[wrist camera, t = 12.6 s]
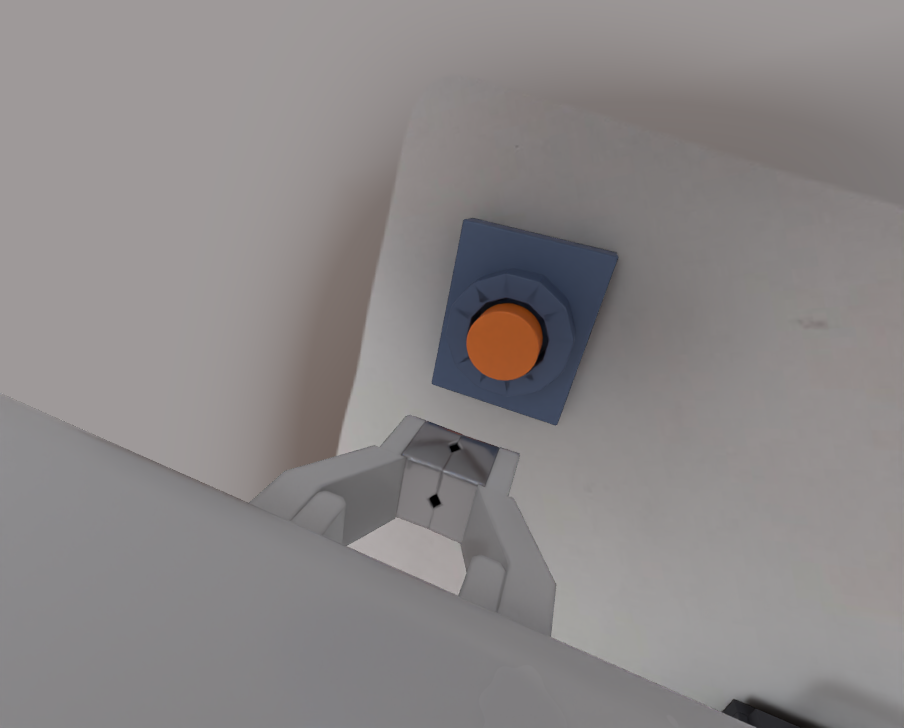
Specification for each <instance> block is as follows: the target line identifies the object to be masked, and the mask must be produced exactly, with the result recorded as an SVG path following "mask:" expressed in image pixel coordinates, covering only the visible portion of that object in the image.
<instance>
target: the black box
mask: <svg viewBox="0 0 904 728" xmlns="http://www.w3.org/2000/svg"><path fill="white" fill-rule="evenodd" d="M754 710H755V708H753V707H750V706H748V705H746V704H743V703H741V702H739V701H736V700H733V701H732V702H731V704H730V705H729V706H728V707H727V708H726V709H725V710H724V711H723V712H722V713H724V714H727V715H729V716H731V717H733V718H736V719H738V720H740V721H742V722H745V723H747V724H749V720H748V716H749V715H750V714H751V713H752V712H753V711H754ZM749 725H750V724H749Z"/></svg>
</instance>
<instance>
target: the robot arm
mask: <svg viewBox="0 0 904 728" xmlns="http://www.w3.org/2000/svg"><path fill="white" fill-rule="evenodd" d="M519 457H520V454H519V453H517V452H514V451H510V450H507V449H504V448H501V447H500V448H499V447H497V446H494V445H491V444H488V443H485V442H482V441H479V440H476V439H473V438H470V437H468V436H465V435H463V434H460V433H458V432H455V431H453V430H450V429H447V428H445V427H442V426H439V425H437V424H434V423H432V422H429V421H426V420H423V419H421V418H418V417H415V416H412V415H407V416H405V418H404V419H403V420H402V421H401V422H400V424H399V425H398V426H397V427H396V428H395V429H394V431H393V432H392V433H391V434H390V435H389V437H388V438H387V439H386V440H385V441H384V442H383V444H382V445H381V446H380V447H378V446H375V445H374V446H370V447H367V448H363V449H360V450H356V451H353V452H349V453H346V454H342V455H339V456H335V457H332V458H328V459H325V460H321V461H318V462H315V463H311V464H307V465H304V466H300V467H297V468H293V469H290V470H286V471H284V472H283V473H282V474H281V475H280V476H278V477H277V478H276V479H275V480H274V481H273V482H272V483H271V484H269V485H268V486H267V487H266V488H265V489H264V490H263V491H262V492H260V493H259V494H258V495H257V496H256V497H255V498H254V499H253V500H252V501H250V502H249V503H247V502H245V501H243V500H241V499H238V498H236V497H234V496H232V495H229V494H227V493H225V492H223V491H220V490H218V489H215V488H214V487H211V486H209V485H207V484H205V483H202V482H200V481H198V480H196V479H193V478H191V477H189V476H186V475H184V474H182V473H180V472H177V471H175V470H173V469H171V468H168V467H166V466H164V465H161V464H159V463H157V462H155V461H153V460H150V459H148V458H146V457H143V456H141V455H139V454H136V453H134V452H132V451H130V450H128V449H125V448H123V447H121V446H119V445H117V444H114V443H112V442H110V441H107V440H105V439H103V438H101V437H98V436H96V435H94V434H92V433H89V432H87V431H85V430H83V429H80V428H78V427H76V426H74V425H71V424H69V423H67V422H65V421H62V420H60V419H58V418H56V417H53V416H51V415H49V414H47V413H44V412H42V411H40V410H37V409H35V408H33V407H31V406H28V405H26V404H24V403H22V402H20V401H17V400H15V399H13V398H11V397H8V396H6V395H4V394H1V393H0V728H756V727H754V726H751V725H749V724H747V723H745V722H742V721H740V720H738V719H736V718H733V717H731V716H729V715H727V714H724V713H722V712H720V711H718V710H715V709H713V708H711V707H709V706H706V705H704V704H702V703H699V702H697V701H695V700H693V699H690V698H688V697H686V696H684V695H681V694H679V693H677V692H675V691H672V690H670V689H668V688H666V687H663V686H661V685H659V684H657V683H654V682H652V681H650V680H648V679H645V678H643V677H641V676H638V675H636V674H634V673H632V672H629V671H627V670H625V669H623V668H620V667H618V666H616V665H613V664H611V663H609V662H607V661H604V660H602V659H600V658H598V657H595V656H593V655H591V654H588V653H586V652H584V651H582V650H579V649H577V648H575V647H572V646H570V645H568V644H566V643H563V642H561V641H559V640H557V639H554V638H552V637H551V631H552V621H553V612H554V602H555V593H556V583H555V581H554V579H553V577H552V575H551V573H550V571H549V569H548V567H547V565H546V563H545V561H544V559H543V557H542V555H541V552H540V550H539V548H538V546H537V544H536V542H535V540H534V538H533V536H532V534H531V532H530V530H529V528H528V526H527V524H526V522H525V520H524V518H523V516H522V514H521V512H520V510H519V508H518V506H517V504H516V501H515V499H514V498H512V497H509V496H508V495H509V492H510V488H511V485H512V482H513V478H514V475H515V471H516V468H517V464H518V461H519ZM395 517H398V518H401V519H403V520H406V521H409V522H411V523H414V524H416V525H419V526H422V527H424V528H427V529H429V530H432V531H434V532H436V533H438V534H440V535H443V536H445V537H447V538H449V539H452V540H454V541H456V542H458V543H461V549H462V553H463V558H464V563H465V567H466V572H467V573H466V576H465V579H464V582H463V585H462V587H461V590H460V593H459V596H458V595H455V594H453V593H451V592H449V591H446V590H444V589H442V588H440V587H438V586H435V585H433V584H431V583H429V582H426V581H424V580H422V579H419V578H417V577H415V576H413V575H410V574H408V573H406V572H404V571H401V570H399V569H397V568H395V567H392V566H390V565H388V564H385V563H383V562H381V561H379V560H376V559H374V558H372V557H370V556H367V555H365V554H363V553H361V552H358V551H356V550H354V549H352V548H349V547H347V545H349V544H351V543H353V542H354V541H356V540H358V539H360V538H361V537H363V536H365V535H367V534H369V533H370V532H372V531H374V530H376V529H377V528H379V527H381V526H383V525H385V524H386V523H388V522H390V521H392V520H393V519H395Z"/></svg>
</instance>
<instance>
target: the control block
mask: <svg viewBox="0 0 904 728" xmlns="http://www.w3.org/2000/svg"><path fill="white" fill-rule="evenodd" d="M617 260H618V256H617V253H616V252H612V251H608V250H604V249H600V248H596V247H591V246H587V245H583V244H579V243H575V242H571V241H566V240H562V239H558V238H554V237H550V236H546V235H542V234H537V233H533V232H529V231H525V230H521V229H517V228H512V227H508V226H504V225H500V224H496V223H492V222H488V221H483V220H479V219H475V218H470V219H464V220H463V225H462V230H461V235H460V240H459V246H458V251H457V256H456V261H455V266H454V271H453V276H452V281H451V286H450V292H449V297H448V302H447V307H446V312H445V317H444V322H443V327H442V332H441V338H440V343H439V348H438V353H437V358H436V363H435V368H434V373H433V378H432V384H433V385H436V386H439V387H442V388H445V389H448V390H451V391H454V392H457V393H460V394H463V395H466V396H469V397H472V398H475V399H478V400H481V401H484V402H487V403H490V404H493V405H496V406H499V407H502V408H505V409H508V410H511V411H514V412H517V413H520V414H523V415H526V416H529V417H532V418H535V419H538V420H541V421H544V422H547V423H550V424H553V425H557V424H558V421H559V418H560V416H561V413H562V410H563V407H564V405H565V402H566V399H567V396H568V394H569V391H570V388H571V386H572V383H573V380H574V377H575V375H576V372H577V369H578V366H579V364H580V361H581V358H582V355H583V353H584V350H585V347H586V345H587V342H588V339H589V336H590V334H591V331H592V328H593V325H594V323H595V320H596V317H597V314H598V312H599V309H600V306H601V303H602V301H603V298H604V295H605V293H606V290H607V287H608V284H609V282H610V279H611V276H612V273H613V271H614V268H615V265H616V262H617ZM502 303H512V304H517V305H520V306H522V307H524V308H526V309H527V310H529V311H530V312H531V313H532V314H533V315H534V316H535V317H536V319H537V320H538V322H539V324H540V326H541V329H542V334H543V341H542V346H541V349H540V352H539V355H538V358H537V360H536V363H535V364H534V366H533V367H532V369H531V370H530V371H529V372H528V373H526V374H525V375H523V376H521V377H519V378H517V379H513V380H496V379H493V378H490V377H488V376H486V375H484V374H483V373H481V372H480V371H479V370H478V369H477V368H476V367H475V366H474V365H473V363H472V362H471V360H470V358H469V355H468V352H467V346H466V341H467V335H468V332H469V330H470V328H471V326H472V325H473V323H474V322H475V321H476V320H477V319H478V318H479V317H480V316H481V315H482V314H483V313H484V312H485V311H486V310H487V309H489V308H490V307H492V306H494V305H497V304H502Z"/></svg>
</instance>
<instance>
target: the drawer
mask: <svg viewBox="0 0 904 728" xmlns="http://www.w3.org/2000/svg"><path fill="white" fill-rule="evenodd" d="M748 720H749V724H750V725H751V726H754V727H756V728H800V727H798V726H795V725H793V724H791V723H788V722H786V721H784V720H781V719H779V718H777V717H774V716H772V715H770V714H767V713H765V712H763V711H760V710H758V709H755V710H754V711H753V712H752V713H751V714H750V715H749V716H748Z"/></svg>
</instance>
